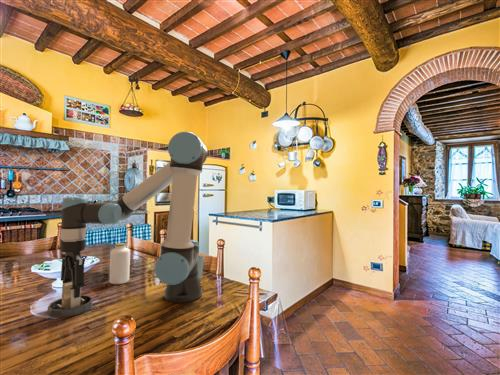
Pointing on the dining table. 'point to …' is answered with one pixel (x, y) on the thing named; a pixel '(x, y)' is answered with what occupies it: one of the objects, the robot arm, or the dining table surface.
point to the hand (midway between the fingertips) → (71, 303)
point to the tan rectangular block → (67, 296)
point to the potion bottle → (119, 264)
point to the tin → (57, 309)
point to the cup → (200, 266)
